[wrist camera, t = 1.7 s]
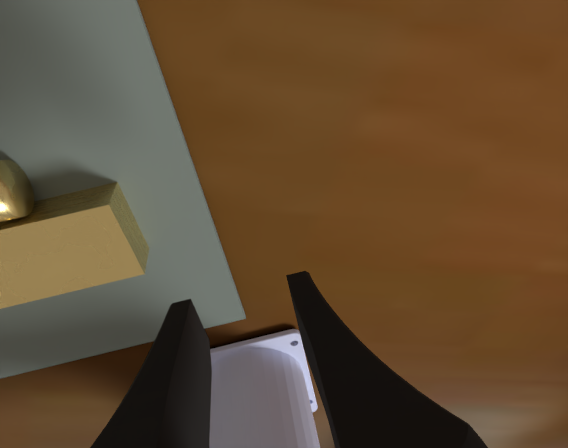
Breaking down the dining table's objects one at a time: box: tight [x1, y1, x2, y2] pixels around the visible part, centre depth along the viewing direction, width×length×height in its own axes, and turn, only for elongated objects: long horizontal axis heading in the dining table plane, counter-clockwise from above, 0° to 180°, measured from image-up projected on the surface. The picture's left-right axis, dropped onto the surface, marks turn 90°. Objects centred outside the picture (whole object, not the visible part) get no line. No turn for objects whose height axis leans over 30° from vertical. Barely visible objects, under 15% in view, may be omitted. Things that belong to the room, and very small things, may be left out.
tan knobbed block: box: [0, 160, 149, 309], centre depth 18 cm, size 9×6×2 cm
